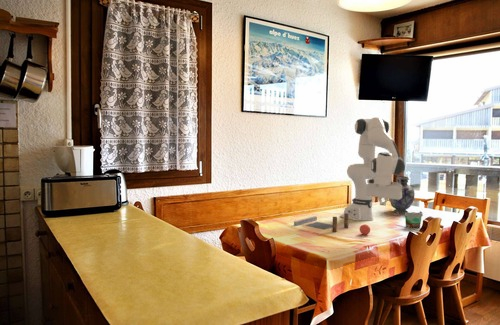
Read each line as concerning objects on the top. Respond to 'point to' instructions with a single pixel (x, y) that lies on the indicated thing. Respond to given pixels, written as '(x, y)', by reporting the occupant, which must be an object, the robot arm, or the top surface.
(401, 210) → the decorative vase
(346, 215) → the post
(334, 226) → the post
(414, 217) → the food container
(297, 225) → the stopper wall
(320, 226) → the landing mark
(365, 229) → the ball
